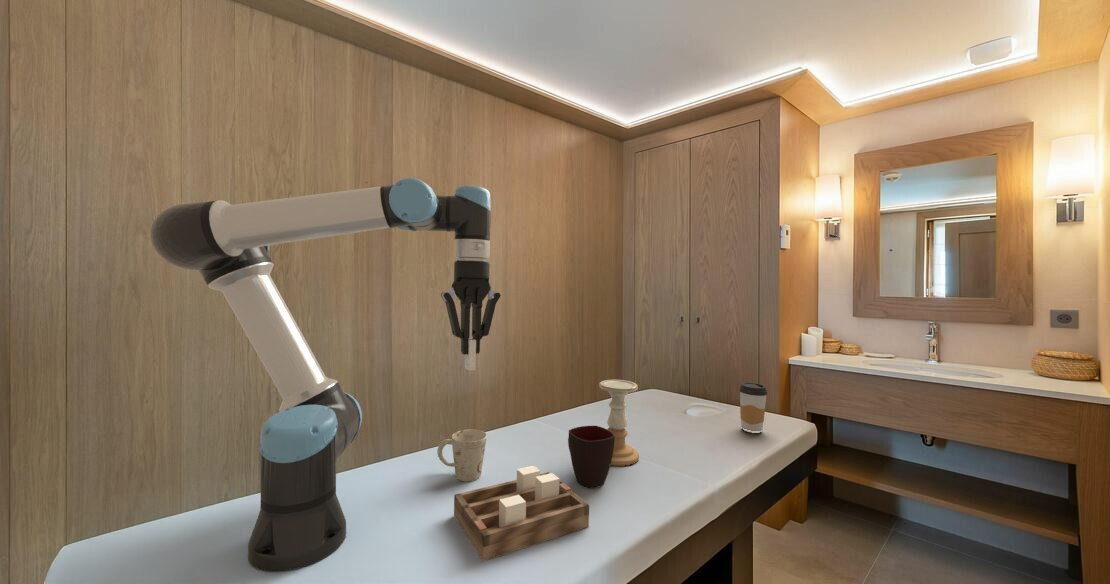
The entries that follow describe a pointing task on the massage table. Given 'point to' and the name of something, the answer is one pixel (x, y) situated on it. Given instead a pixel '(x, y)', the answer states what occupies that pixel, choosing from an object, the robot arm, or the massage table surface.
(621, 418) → the candle holder
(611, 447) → the mug
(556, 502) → the wooden compartment tray
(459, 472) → the mug
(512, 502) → the tab near
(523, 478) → the tab far
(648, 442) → the massage table surface
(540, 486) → the tab mid
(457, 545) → the massage table surface
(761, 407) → the coffee cup
